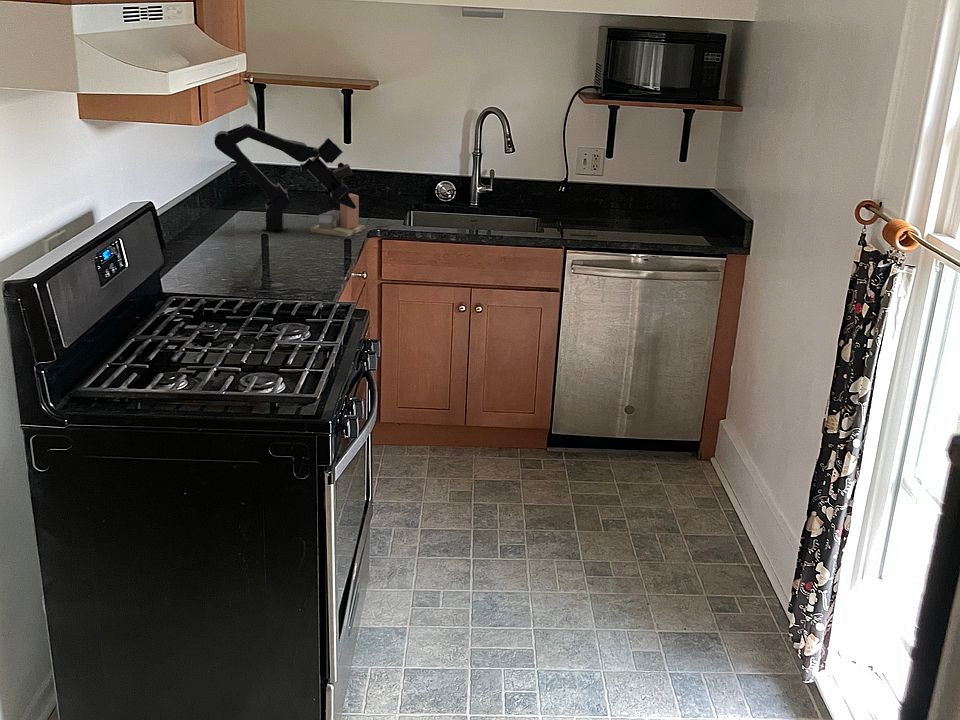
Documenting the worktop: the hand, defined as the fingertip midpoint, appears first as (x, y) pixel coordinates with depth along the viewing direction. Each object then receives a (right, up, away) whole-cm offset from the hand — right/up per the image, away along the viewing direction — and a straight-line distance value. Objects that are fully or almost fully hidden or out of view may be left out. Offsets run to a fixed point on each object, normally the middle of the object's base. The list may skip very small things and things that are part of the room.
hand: (353, 205), depth 323 cm
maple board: (-6, -8, +1) cm, 10 cm away
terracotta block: (-2, -7, +2) cm, 8 cm away
